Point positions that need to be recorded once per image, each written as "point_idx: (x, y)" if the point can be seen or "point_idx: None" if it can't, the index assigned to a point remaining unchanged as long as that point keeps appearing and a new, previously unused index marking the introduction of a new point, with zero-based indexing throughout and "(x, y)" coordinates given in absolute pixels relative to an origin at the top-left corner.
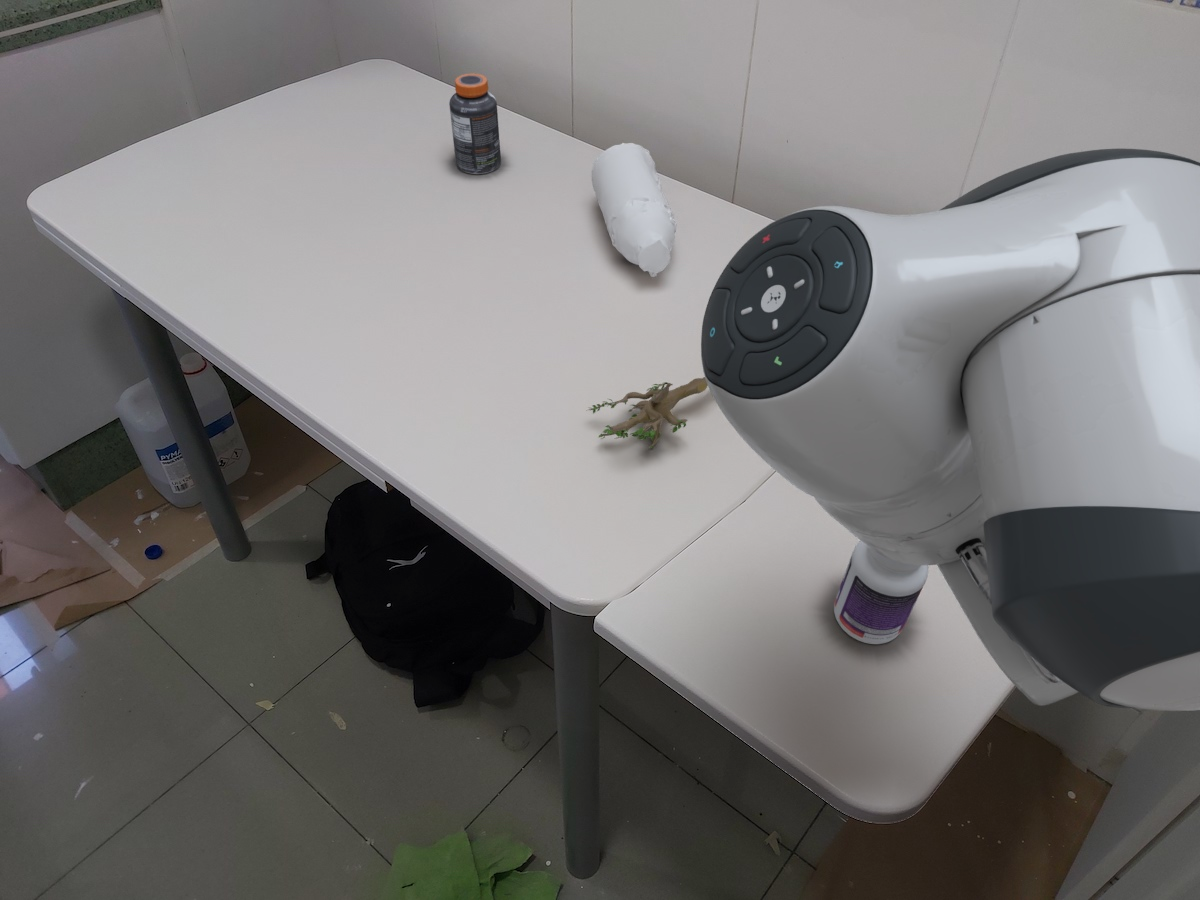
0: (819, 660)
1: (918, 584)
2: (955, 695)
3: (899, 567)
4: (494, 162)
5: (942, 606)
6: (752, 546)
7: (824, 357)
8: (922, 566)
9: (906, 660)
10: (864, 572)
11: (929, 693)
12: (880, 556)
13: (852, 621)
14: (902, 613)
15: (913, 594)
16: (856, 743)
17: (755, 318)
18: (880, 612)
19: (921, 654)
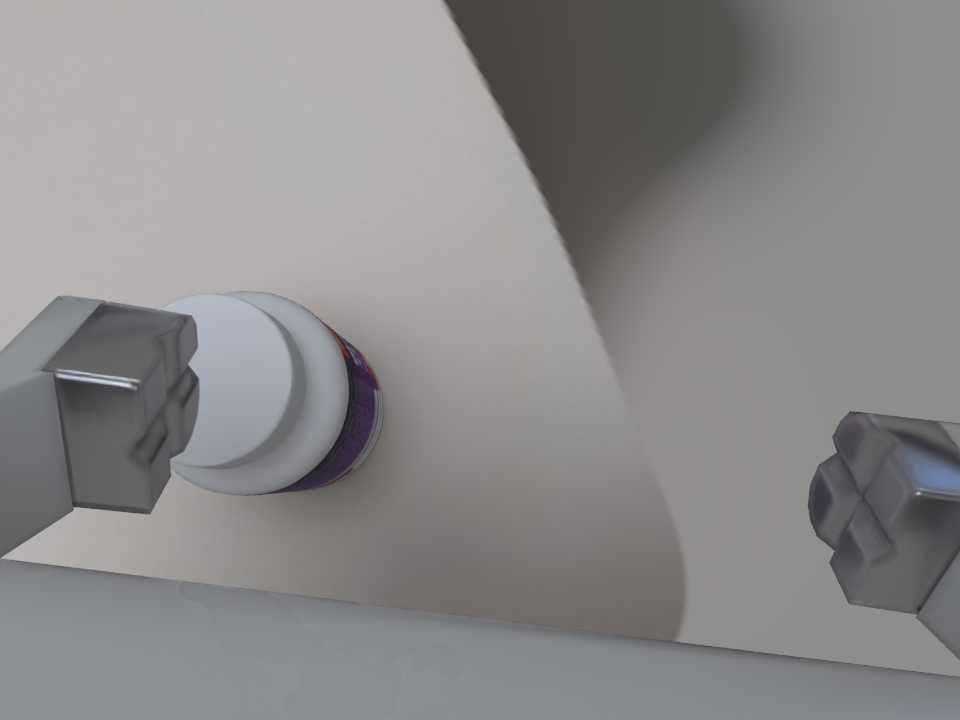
0: (358, 578)
1: (337, 371)
2: (542, 352)
3: (284, 430)
4: None
5: (353, 239)
6: (29, 555)
7: None
8: (296, 332)
9: (434, 397)
10: (243, 488)
11: (518, 400)
12: (230, 466)
13: (317, 486)
14: (364, 401)
15: (349, 385)
16: (555, 615)
17: None
18: (342, 457)
19: (434, 357)
